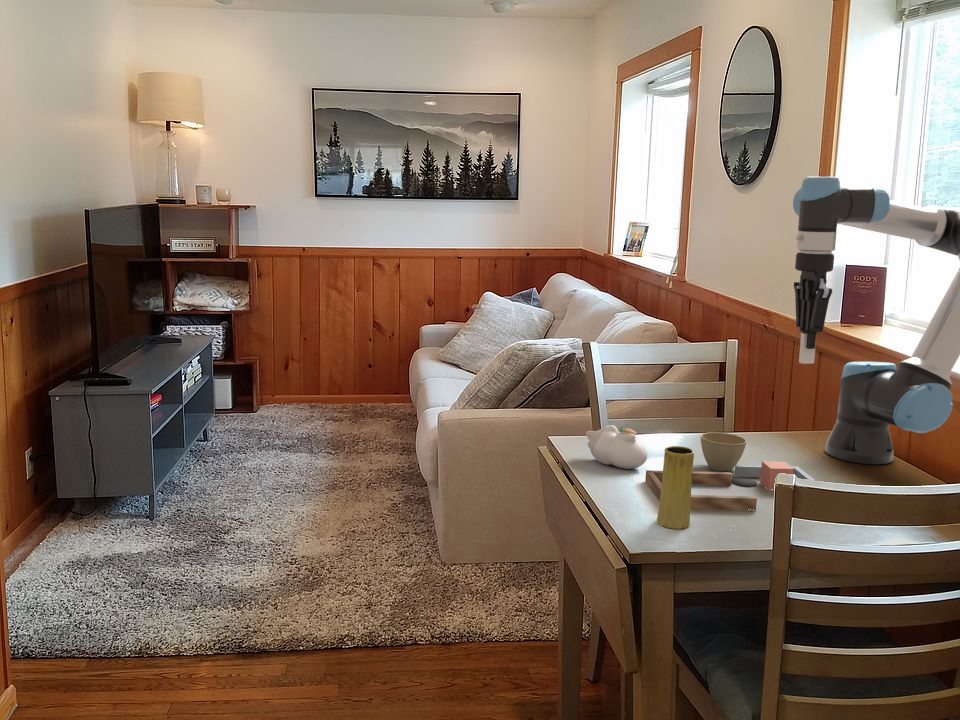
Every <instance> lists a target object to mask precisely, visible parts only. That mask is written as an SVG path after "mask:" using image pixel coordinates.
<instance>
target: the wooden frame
mask: <svg viewBox="0 0 960 720" xmlns="http://www.w3.org/2000/svg"><path fill="white" fill-rule="evenodd" d="M662 476H663V470H650V469H649V470H645V481H644V482H645V483H646V485H647V486H648V488H649V489H650V490H651V491H652V494H654V495H653V496H655V498H656V499H657V500H658V503H659V502H660V494H661V485H662ZM732 477H733V473H732V472H731V471H728V472H721V471H692V481H691V484H705V485H704V486H707V485H706V484H711V485H710V486H732V479H733V478H732ZM757 503H758V498H757V497H756V496H751V495H748V496H747V495H745V496H744V495H740V496H739V495H707V494H706V495H704V494H703V495H699V494H698V495H697V494H691V506H690V510H700V509H710V510H709V511H711V509H712V511H714V510H715V509H716V510H715V511H745V510H748V509H749V510H750V509H751V510H753V509H754V510H757V506H758V505H757ZM713 509H714V510H713Z"/></svg>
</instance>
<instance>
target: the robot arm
mask: <svg viewBox="0 0 960 720" xmlns="http://www.w3.org/2000/svg"><path fill="white" fill-rule="evenodd" d="M793 196H794V197H793V199H792V200H793V201H792V208H793V211H794V213H795V214H796V215H797V216H798V225H797V226H798V228H797V229H798V230H797V235H796V237H795V239H796V241H797V243H796V249H797V250H798V252H797V253H796V254H795V265H794V268H795V270H797V271H799V272H801V273H800V276H799V281H794V282H793V288H794V296H795V299H794V300H795V301H794V302H795V325H796V326H795V327H796V328H799V331H800V344H799V355H798V357H799V358H798V363H799V364H803V365H804V364H805V365H806V364H807V365H810V364H812V365H813V364H815V357H816V346H817V345H816V344H817V334H819V333H822V332H823V331H824V326H825V322H826V317H827V311H828V308H829V301H830V300H831V299H830V298H831V296H832V295H833V288H831V287H830V288H828V287H827V273H829V272H832V271H833V270H834V264H835V263H834V262H835V255H834V253H833V252H834V251H836V245H837V244H836V242H837V241H836V240H837V229H838V225H842V226H846V227H851V228H857V229H860V230H861V229H862V230H867V231H870V232H875V233H876V232H877V233H881V234H885V235H888V236H889V235H890V236H895V237H899V238H904V239H910V240H914V241H915V242H916V243H917V244H918V246H921V247H927V248H930V249H933V250H937V251H941V252H944V253H947V254H951V255H953V256H957V257H958V260H959V261H960V207H950V206H949V207H946V206H940V205H939V206H938V205H928V206H925V207H923V206H917V205H913V204H908V203H904V202H900V201H899V202H898V201H894V200H891V197H890V194H889V192H888V191H887V190H886V189H885V188H884V187H881V186H873V185H862V186H861V185H855V186H854V185H842V183H841V178H840V177H839V176H806V177H805V178H804V179H803V180H802V183H801V187H800V188H799V189H798V190H797V191H796V193H795V194H794V195H793ZM925 329H926V330H925V331H924V333H923V334H922V336H921V339H920V340H919V342H918V343H917V345H916V347H915V350H914V351H913V353H912V355H911V357H909V358H907V359H904V360H901V361H899V364H898V366H897V365H896V364H895V363H893V362H886V361H883V362H882V361H850V362H847V363H845V364H844V366H843V369H842V372H841V377H840V386H839V397H838V404H837V405H838V406H837V415H836V421H835V424H834V425H833V428H832V430H831V432H830V434H829V436H828V438H827V440H826V443H825V449H824V450H825V453H826V454H827V455H829V456H831V457H833V458H836V459H839V460H842V461H845V462H851V463H856V464H864V465H885V464H889V463H892V462H893V459H894V446H893V442H892V439H891V433H890V428H889V426H890V425H893V426H895V427H898V428H900V429H902V430H904V431H908V432H914V433H918V434H925V433H929V432H932V431H935V430H936V429H938V428H940V427H941V426H942V425H943V424H944V423H945V422H947V420H948V418H949V417H950V414H951V413H952V410H953V405H954V404H953V401H954V400H953V394H952V392H951V391H950V389H951V387H952V385H953V383H952V380H951V377H950V375H951V374H950V373H951V372H952V370H953V369H954V366H955V365H956V363H957V361H958V360H959V359H958V358H959V357H960V267H959V268H958V271H956V274H955V275H954V278H953V279H952V281H951V283H950V285H949V286H948V289H947V291H946V292H945V294H944V296H943V298H942V300H941V301H940V303H939V305H938V307H937V309H936V311H935V312H934V315H933V316H932V318H931V320H930V321H929V324H928V326H927V327H926V328H925Z"/></svg>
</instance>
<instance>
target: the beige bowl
mask: <svg viewBox="0 0 960 720" xmlns="http://www.w3.org/2000/svg"><path fill="white" fill-rule="evenodd" d="M747 441H748V440H747V439H746V438H744V436H743V437H742V436H740V435H738V434H733V433H728V432H718V431H717V432H715V431H714V432H712V431H711V432H710V431H709V432H705V433H704V432H703V433H701V435H700V445H701V451H702V454H703V458H704V459H705V461H706V464H707V467H708V468H709V469H710V468H711V469H710V470H712V469H713V471H716V470H717V471H716V472H721V471H728V472H731V471H733V469H735V465H738V463H739V461H740V460H741V458H742V456H743V454H744V451H745V449H746V445H747Z"/></svg>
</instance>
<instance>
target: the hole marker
mask: <svg viewBox="0 0 960 720" xmlns="http://www.w3.org/2000/svg"><path fill="white" fill-rule="evenodd" d="M731 484H733V485H736V486H738V485H739V486H738V487H743V486H744V487H745V488H753V487H752V486H754V487H756V485H757V486H758V481H757V480H754V479H753V478H749V477H733V478H732V482H731Z"/></svg>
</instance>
